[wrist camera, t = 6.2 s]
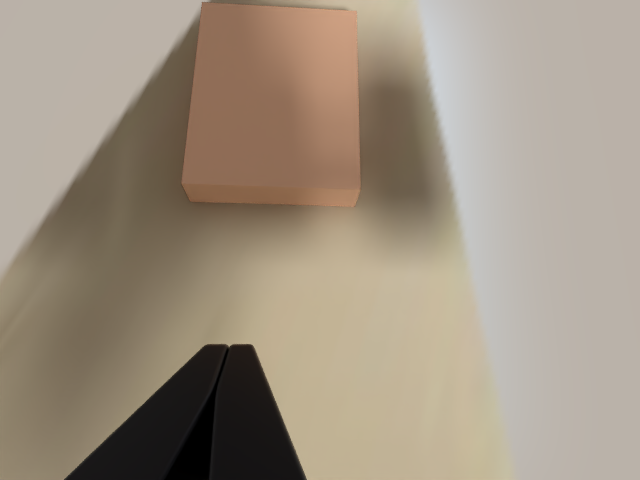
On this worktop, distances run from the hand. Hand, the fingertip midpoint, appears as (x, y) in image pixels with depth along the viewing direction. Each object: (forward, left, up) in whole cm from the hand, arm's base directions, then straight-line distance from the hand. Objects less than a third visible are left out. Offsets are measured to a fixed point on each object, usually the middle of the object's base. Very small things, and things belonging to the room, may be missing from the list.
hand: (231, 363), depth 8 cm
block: (+7, 0, -9) cm, 11 cm away
